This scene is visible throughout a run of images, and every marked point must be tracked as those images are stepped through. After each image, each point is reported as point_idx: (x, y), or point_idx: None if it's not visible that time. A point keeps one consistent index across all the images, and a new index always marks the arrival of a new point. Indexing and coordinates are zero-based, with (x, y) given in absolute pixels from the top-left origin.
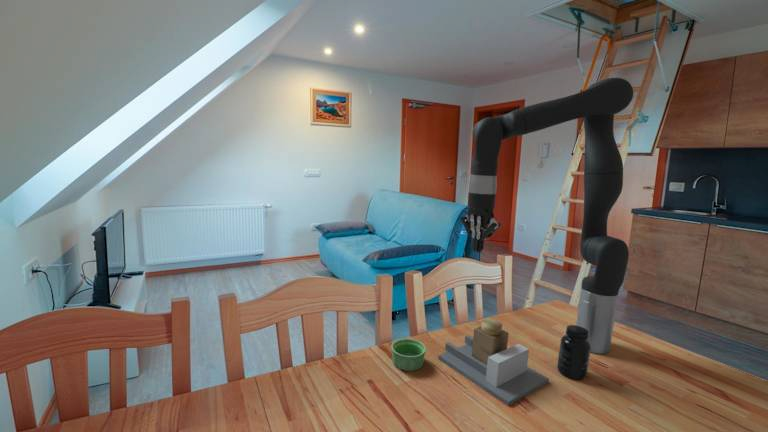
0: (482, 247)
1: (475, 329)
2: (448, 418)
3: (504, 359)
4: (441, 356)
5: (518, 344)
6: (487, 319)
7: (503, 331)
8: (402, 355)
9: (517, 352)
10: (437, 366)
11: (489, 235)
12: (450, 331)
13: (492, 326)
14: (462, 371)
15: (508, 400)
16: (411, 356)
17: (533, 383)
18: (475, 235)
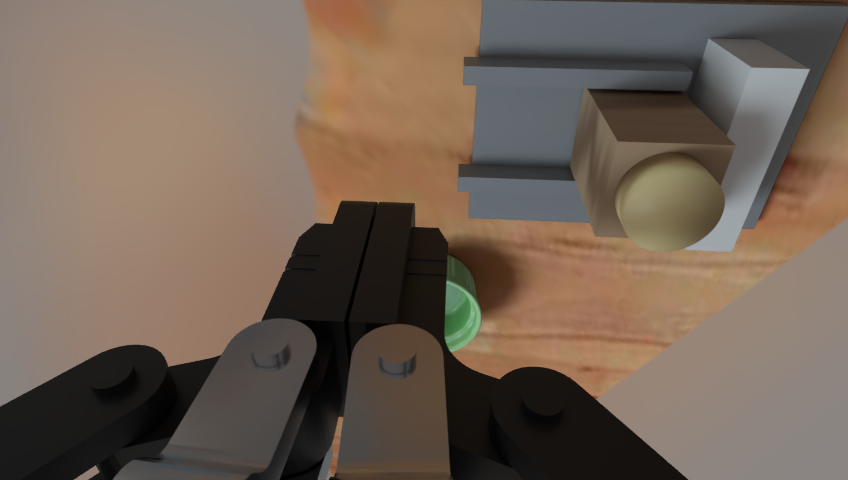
0: (445, 268)
1: (602, 235)
2: (647, 342)
3: (741, 218)
4: (480, 215)
5: (753, 72)
6: (636, 197)
7: (710, 153)
8: (452, 351)
9: (770, 137)
10: (497, 239)
11: (584, 445)
12: (338, 23)
13: (689, 233)
14: (578, 221)
15: (752, 225)
16: (471, 338)
17: (801, 91)
18: (325, 472)
